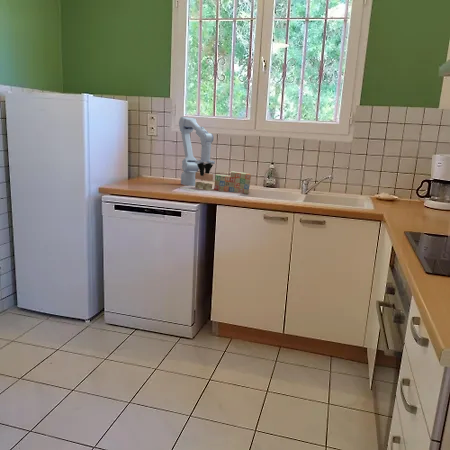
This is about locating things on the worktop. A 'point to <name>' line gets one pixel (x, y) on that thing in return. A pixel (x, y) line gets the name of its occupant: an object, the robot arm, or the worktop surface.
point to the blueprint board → (191, 189)
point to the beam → (206, 176)
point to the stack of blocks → (233, 182)
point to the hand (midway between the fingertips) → (204, 175)
